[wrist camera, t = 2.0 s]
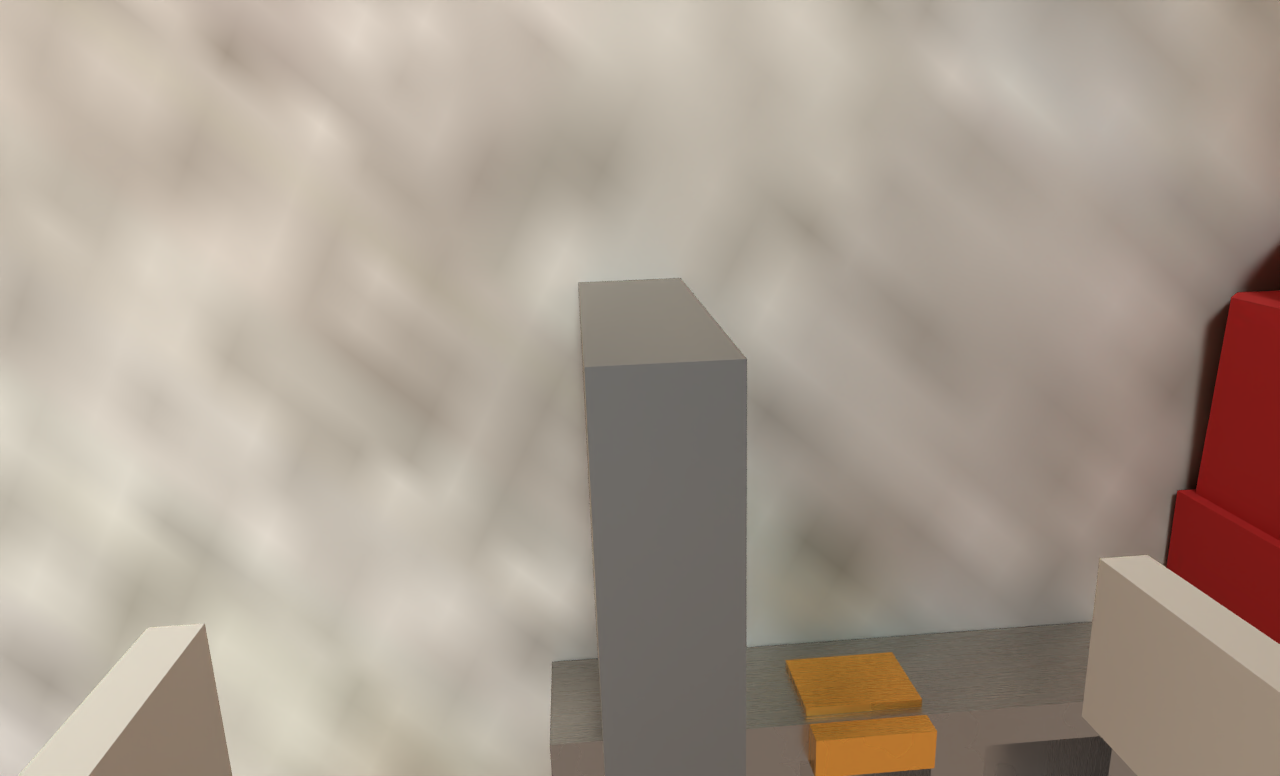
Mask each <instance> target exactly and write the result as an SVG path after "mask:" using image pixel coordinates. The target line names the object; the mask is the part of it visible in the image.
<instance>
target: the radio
mask: <svg viewBox="0 0 1280 776" xmlns="http://www.w3.org/2000/svg"><path fill="white" fill-rule="evenodd" d="M1166 568H1168V569H1169V570H1171V571H1172V572H1174V573H1175V574H1177V575H1178V576H1180V577H1181V578H1183V579H1184V580H1185V581H1187V582H1188V583H1190V584H1191V585H1193V586H1194V587H1196V588H1197V589H1199V590H1200V591H1202V592H1203V593H1205V594H1206V595H1208V596H1209V597H1211V598H1212V599H1214V600H1215V601H1216V602H1218V603H1219V604H1221V605H1222V606H1224V607H1225V608H1227V609H1228V610H1230V611H1231V612H1233V613H1234V614H1236V615H1237V616H1239V617H1240V618H1242V619H1243V620H1244V621H1246V622H1247V623H1249V624H1250V625H1252V626H1253V627H1255V628H1256V629H1258V630H1259V631H1261V632H1262V633H1264V634H1265V635H1267V636H1268V637H1270V638H1271V639H1273V640H1274V641H1275V642H1277V643H1278V644H1280V291H1259V292H1237V293H1236V294H1235V295H1234V296H1232V297H1231V302H1230V307H1229V313H1228V318H1227V323H1226V329H1225V334H1224V340H1223V345H1222V351H1221V356H1220V362H1219V367H1218V372H1217V378H1216V383H1215V389H1214V394H1213V400H1212V405H1211V411H1210V416H1209V421H1208V427H1207V432H1206V438H1205V443H1204V449H1203V454H1202V459H1201V465H1200V470H1199V476H1198V481H1197V487H1196V489H1192V490H1177V497H1176V504H1175V511H1174V518H1173V525H1172V532H1171V539H1170V546H1169V553H1168V560H1167V567H1166Z"/></svg>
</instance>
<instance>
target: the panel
mask: <svg viewBox="0 0 1280 776" xmlns="http://www.w3.org/2000/svg"><path fill="white" fill-rule="evenodd" d="M578 284H579V304H580V323H581V343H582V362H583V382H584V401H585V421H586V440H587V460H588V479H589V499H590V518H591V538H592V557H593V577H594V595H595V613H596V630H597V648H598V665H599V683H600V701H601V718H602V736H603V753H604V771H605V776H746V497H747V359H746V357H745V356H744V355H743V354H742V353H741V351H740V350H739V349H738V348H737V346H736V345H735V344H734V343H733V342H732V340H731V339H730V338H729V337H728V335H727V334H726V333H725V332H724V331H723V329H722V328H721V327H720V326H719V325H718V323H717V322H716V321H715V320H714V318H713V317H712V316H711V315H710V314H709V312H708V311H707V310H706V309H705V307H704V306H703V305H702V304H701V303H700V301H699V300H698V299H697V298H696V296H695V295H694V294H693V293H692V292H691V290H690V289H689V288H688V287H687V285H686V284H685V283H684V282H683V281H682V279H681V278H669V279H647V280H624V281H602V282H579V283H578Z"/></svg>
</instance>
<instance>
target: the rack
mask: <svg viewBox="0 0 1280 776" xmlns="http://www.w3.org/2000/svg"><path fill="white" fill-rule="evenodd" d="M1091 629H1092V622H1085V623H1071V624H1058V625H1044V626H1031V627H1017V628H1004V629H990V630H977V631H963V632H950V633H936V634H923V635H909V636H896V637H882V638H869V639H855V640H842V641H828V642H815V643H801V644H788V645H774V646H761V647H747V648H746V776H1137V775H1136V774H1135V773H1134V772H1133V771H1132V770H1131V768H1130V767H1129V766H1128V765H1127V764H1126V763H1125V762H1124V761H1123V760H1122V759H1121V758H1120V757H1119V756H1118V755H1117V753H1116V752H1115V751H1114V750H1113V749H1112V748H1111V747H1110V746H1109V745H1108V744H1107V743H1106V742H1105V741H1104V740H1103V738H1102V737H1101V736H1100V735H1099V734H1098V733H1097V732H1096V731H1095V730H1094V729H1093V728H1092V727H1091V726H1090V725H1089V723H1088V722H1087V721H1086V720H1085V719H1084V718H1083V717H1082V709H1083V700H1084V691H1085V682H1086V673H1087V665H1088V656H1089V647H1090V638H1091ZM550 753H551V767H552V776H605V771H604V753H603V736H602V718H601V701H600V683H599V665H598V659H585V660H572V661H558V662H552V688H551V725H550Z"/></svg>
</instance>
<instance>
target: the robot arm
mask: <svg viewBox="0 0 1280 776" xmlns="http://www.w3.org/2000/svg"><path fill="white" fill-rule="evenodd" d="M1082 717H1083V718H1084V719H1085V720H1086V721H1087V722H1088V723H1089V725H1090V726H1091V727H1092V728H1093V729H1094V730H1095V731H1096V732H1097V733H1098V734H1099V735H1100V736H1101V737H1102V738H1103V740H1104V741H1105V742H1106V743H1107V744H1108V745H1109V746H1110V747H1111V748H1112V749H1113V750H1114V751H1115V752H1116V753H1117V755H1118V756H1119V757H1120V758H1121V759H1122V760H1123V761H1124V762H1125V763H1126V764H1127V765H1128V766H1129V767H1130V768H1131V770H1132V771H1133V772H1134V773H1135V774H1136V775H1137V776H1280V644H1278V643H1277V642H1275V641H1274V640H1273V639H1271V638H1270V637H1268V636H1267V635H1265V634H1264V633H1262V632H1261V631H1259V630H1258V629H1256V628H1255V627H1253V626H1252V625H1250V624H1249V623H1247V622H1246V621H1244V620H1243V619H1242V618H1240V617H1239V616H1237V615H1236V614H1234V613H1233V612H1231V611H1230V610H1228V609H1227V608H1225V607H1224V606H1222V605H1221V604H1219V603H1218V602H1216V601H1215V600H1214V599H1212V598H1211V597H1209V596H1208V595H1206V594H1205V593H1203V592H1202V591H1200V590H1199V589H1197V588H1196V587H1194V586H1193V585H1191V584H1190V583H1188V582H1187V581H1185V580H1184V579H1183V578H1181V577H1180V576H1178V575H1177V574H1175V573H1174V572H1172V571H1171V570H1169V569H1168V568H1166V567H1165V566H1163V565H1162V564H1160V563H1159V562H1157V561H1156V560H1154V559H1153V558H1152V557H1150V556H1149V555H1138V556H1124V557H1110V558H1099V567H1098V576H1097V585H1096V594H1095V603H1094V611H1093V620H1092V629H1091V638H1090V647H1089V656H1088V665H1087V673H1086V682H1085V691H1084V700H1083V709H1082ZM18 776H232V772H231V766H230V761H229V755H228V750H227V744H226V739H225V733H224V728H223V722H222V717H221V711H220V706H219V700H218V694H217V689H216V683H215V678H214V672H213V667H212V661H211V656H210V650H209V645H208V639H207V634H206V628H205V623H204V624H190V625H177V626H163V627H149V628H147V629H146V630H145V631H144V633H143V634H142V635H141V636H140V637H139V638H138V639H137V641H136V642H135V643H134V644H133V645H132V646H131V647H130V649H129V650H128V651H127V652H126V653H125V654H124V655H123V657H122V658H121V659H120V660H119V661H118V662H117V663H116V665H115V666H114V667H113V668H112V669H111V670H110V671H109V673H108V674H107V675H106V676H105V677H104V678H103V679H102V681H101V682H100V683H99V684H98V685H97V686H96V687H95V689H94V690H93V691H92V692H91V693H90V694H89V695H88V696H87V698H86V699H85V700H84V701H83V702H82V703H81V704H80V706H79V707H78V708H77V709H76V710H75V711H74V712H73V714H72V715H71V716H70V717H69V718H68V719H67V720H66V722H65V723H64V724H63V725H62V726H61V727H60V728H59V730H58V731H57V732H56V733H55V734H54V735H53V736H52V738H51V739H50V740H49V741H48V742H47V743H46V744H45V746H44V747H43V748H42V749H41V750H40V751H39V752H38V754H37V755H36V756H35V757H34V758H33V759H32V760H31V762H30V763H29V764H28V765H27V766H26V767H25V768H24V770H23V771H22V772H21V773H20V774H19V775H18Z"/></svg>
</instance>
